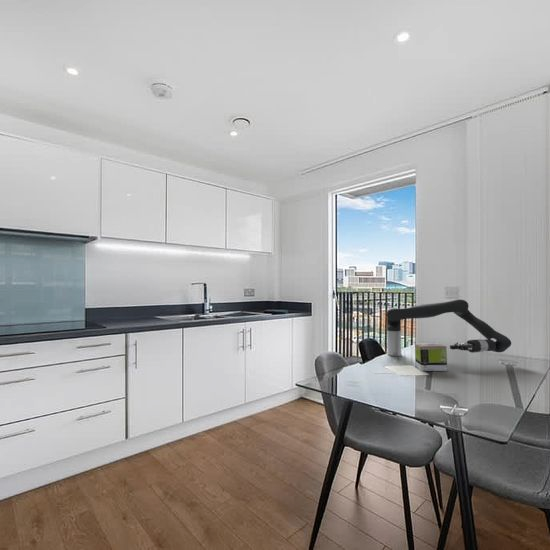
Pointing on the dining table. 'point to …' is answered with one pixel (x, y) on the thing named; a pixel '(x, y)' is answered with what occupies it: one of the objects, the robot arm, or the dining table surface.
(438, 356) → the tea box
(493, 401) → the dining table surface
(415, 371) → the T mat
